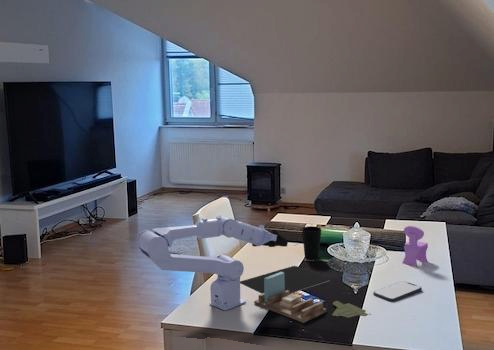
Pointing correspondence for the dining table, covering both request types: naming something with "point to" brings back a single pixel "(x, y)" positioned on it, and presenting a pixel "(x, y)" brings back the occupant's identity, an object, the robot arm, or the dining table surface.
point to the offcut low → (289, 304)
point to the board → (274, 285)
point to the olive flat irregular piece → (347, 310)
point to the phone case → (397, 291)
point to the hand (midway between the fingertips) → (279, 243)
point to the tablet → (288, 280)
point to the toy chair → (414, 246)
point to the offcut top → (291, 298)
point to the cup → (311, 242)
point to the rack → (297, 312)
